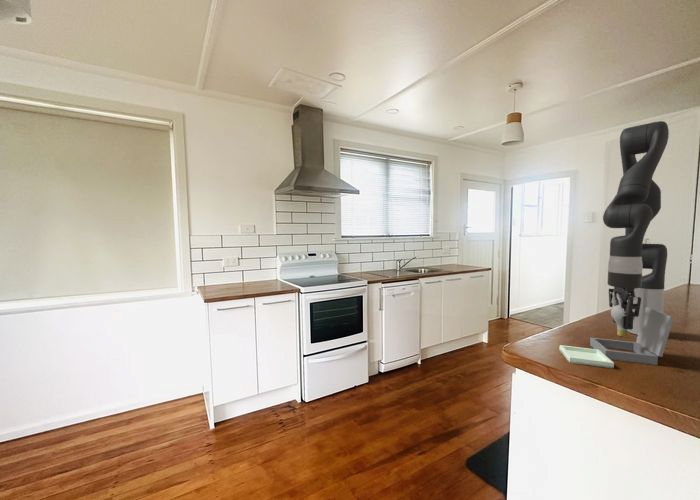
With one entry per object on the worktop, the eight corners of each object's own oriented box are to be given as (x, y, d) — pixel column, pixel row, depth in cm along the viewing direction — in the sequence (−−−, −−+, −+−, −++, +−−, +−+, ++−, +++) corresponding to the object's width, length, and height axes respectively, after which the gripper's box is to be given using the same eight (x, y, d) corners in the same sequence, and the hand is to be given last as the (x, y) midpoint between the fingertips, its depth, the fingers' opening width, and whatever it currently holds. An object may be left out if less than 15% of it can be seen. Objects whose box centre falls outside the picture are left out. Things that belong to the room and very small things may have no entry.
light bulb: (639, 340, 86) (640, 307, 85) (617, 339, 87) (619, 306, 86) (625, 334, 91) (627, 302, 90) (605, 333, 92) (606, 302, 91)
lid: (646, 306, 91) (651, 308, 90) (635, 341, 92) (641, 343, 91) (670, 316, 80) (676, 318, 79) (658, 356, 81) (664, 357, 81)
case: (590, 344, 96) (590, 337, 96) (635, 349, 92) (635, 342, 92) (605, 358, 86) (605, 350, 86) (657, 365, 81) (657, 356, 81)
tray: (559, 349, 92) (559, 345, 92) (598, 354, 89) (598, 349, 88) (569, 362, 83) (569, 357, 83) (613, 368, 79) (614, 363, 79)
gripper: (655, 274, 80) (652, 335, 81) (628, 268, 93) (626, 320, 94) (620, 273, 82) (617, 332, 83) (599, 267, 96) (597, 318, 97)
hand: (622, 325), depth 89 cm, fingers closed on light bulb, 5 cm apart
